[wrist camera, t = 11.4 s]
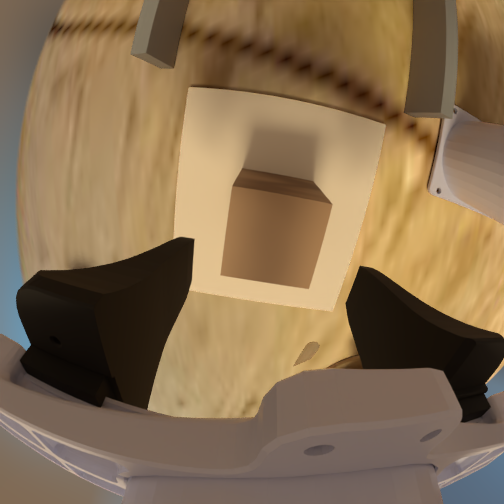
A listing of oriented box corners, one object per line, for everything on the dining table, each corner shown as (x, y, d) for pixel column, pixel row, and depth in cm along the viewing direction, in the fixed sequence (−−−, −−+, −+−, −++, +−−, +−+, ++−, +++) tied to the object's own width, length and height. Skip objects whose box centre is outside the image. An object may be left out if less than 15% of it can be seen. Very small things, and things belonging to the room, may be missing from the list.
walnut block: (313, 181, 19) (332, 204, 13) (298, 245, 21) (308, 289, 15) (242, 168, 18) (232, 185, 13) (232, 234, 21) (220, 275, 15)
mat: (384, 124, 17) (386, 124, 16) (331, 308, 24) (332, 311, 23) (190, 87, 16) (188, 87, 16) (174, 284, 23) (172, 287, 23)
